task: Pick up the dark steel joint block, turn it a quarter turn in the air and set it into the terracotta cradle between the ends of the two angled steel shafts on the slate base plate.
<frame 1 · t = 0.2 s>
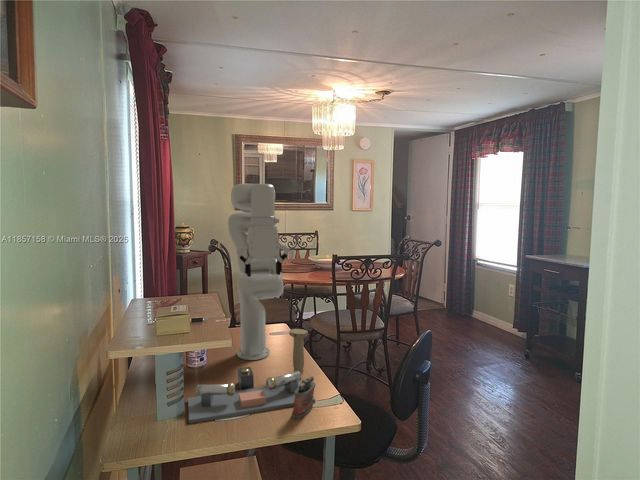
hand: (263, 275, 134), 36 cm above the table, tool pointing down, fingers open, 9 cm apart
base plate: (251, 401, 124), on the table
handle: (298, 373, 144), on the table
lighter: (302, 411, 118), on the table
joint block: (245, 386, 134), on the table
shaft b: (284, 395, 128), resting on base plate
shaft a: (216, 406, 121), resting on base plate
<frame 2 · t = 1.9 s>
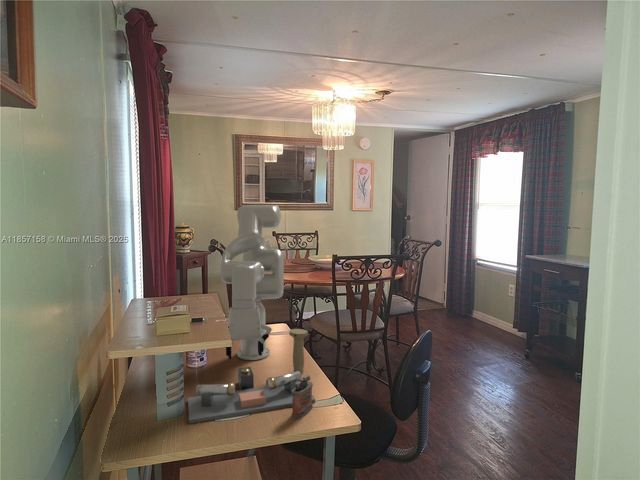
hand: (244, 356, 132), 10 cm above the table, tool pointing down, fingers open, 9 cm apart
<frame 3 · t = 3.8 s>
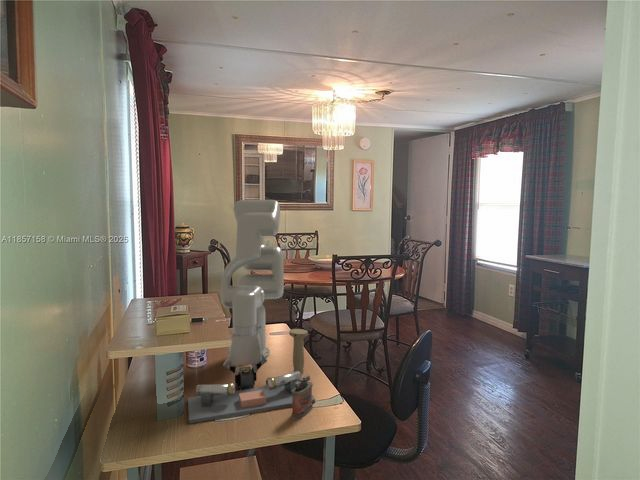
hand: (245, 383, 134), 1 cm above the table, tool pointing down, fingers closed on joint block, 4 cm apart
joint block: (245, 385, 134), on the table, touching gripper
everything else where it was.
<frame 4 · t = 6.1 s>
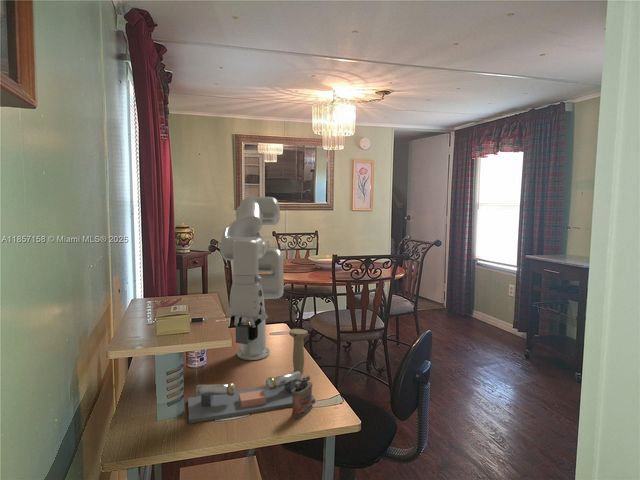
hand: (246, 337, 127), 18 cm above the table, tool pointing down, fingers closed on joint block, 4 cm apart
joint block: (246, 340, 127), point 17 cm above the table, touching gripper
everything else where it was.
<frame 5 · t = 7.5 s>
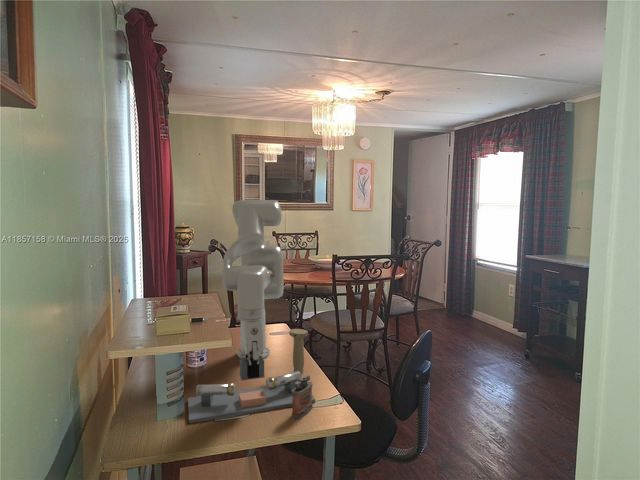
hand: (252, 373, 121), 10 cm above the table, tool pointing down, fingers closed on joint block, 4 cm apart
joint block: (252, 376, 121), point 9 cm above the table, touching gripper
everything else where it was.
when the fingers open (5 cm above the table, at t = 8.8 s): joint block drops 1 cm, resting on base plate.
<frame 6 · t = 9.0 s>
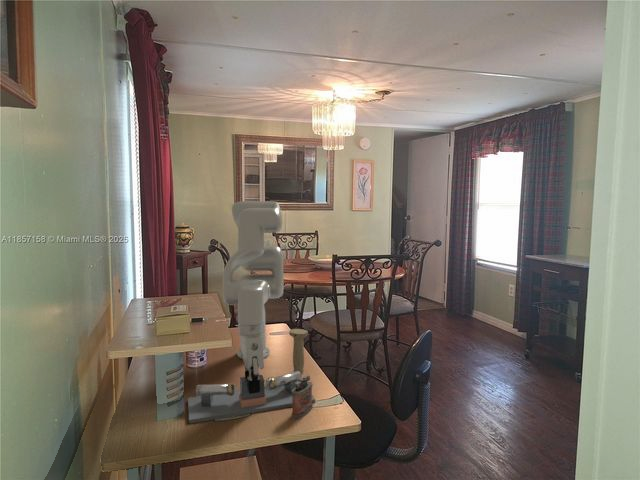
hand: (252, 387, 121), 6 cm above the table, tool pointing down, fingers open, 5 cm apart
joint block: (252, 395, 122), point 3 cm above the table, touching base plate
everything else where it was.
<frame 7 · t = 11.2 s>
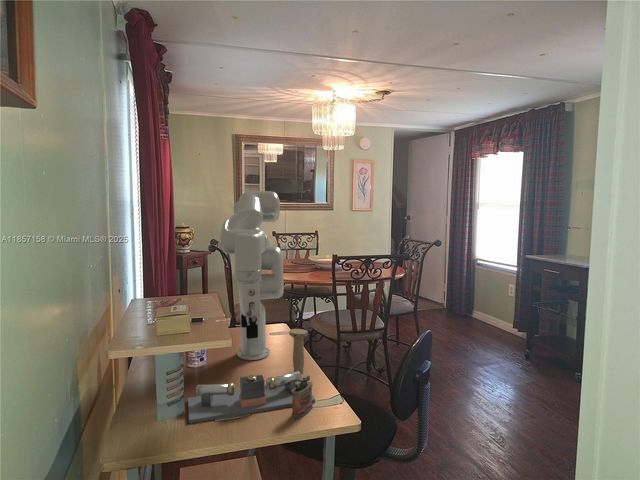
hand: (249, 332, 122), 21 cm above the table, tool pointing down, fingers open, 9 cm apart
nothing on the table moved.
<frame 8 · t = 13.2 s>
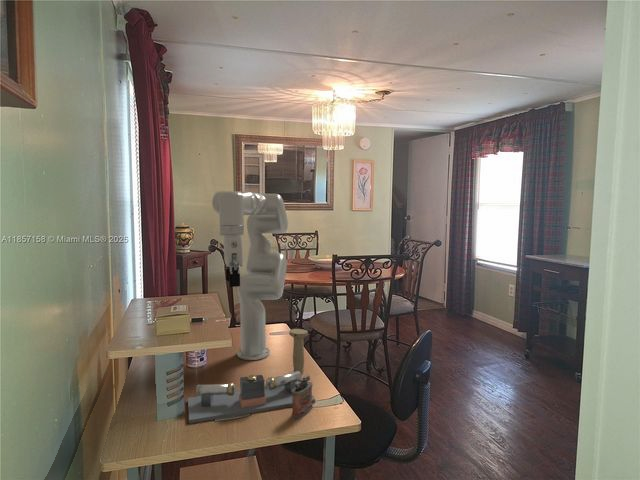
hand: (232, 283, 133), 33 cm above the table, tool pointing down, fingers open, 9 cm apart
nothing on the table moved.
at the end: joint block 0.1 cm from the target spot on the base plate, point 3.0 cm above the base plate's base; joint block tilted 0°; the gripper is holding nothing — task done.
